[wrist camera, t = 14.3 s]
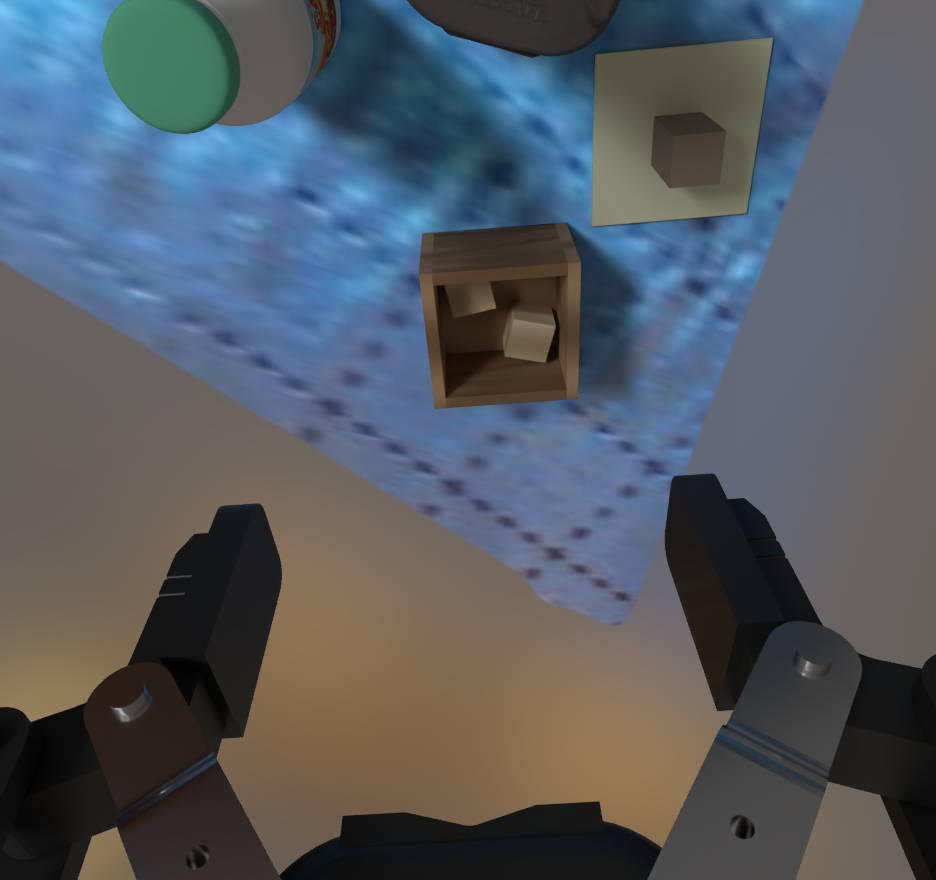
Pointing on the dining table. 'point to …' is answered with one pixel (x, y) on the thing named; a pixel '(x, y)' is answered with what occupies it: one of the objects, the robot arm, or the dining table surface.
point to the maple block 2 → (528, 331)
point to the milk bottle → (216, 58)
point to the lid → (676, 130)
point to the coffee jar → (522, 22)
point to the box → (500, 313)
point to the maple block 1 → (470, 297)
